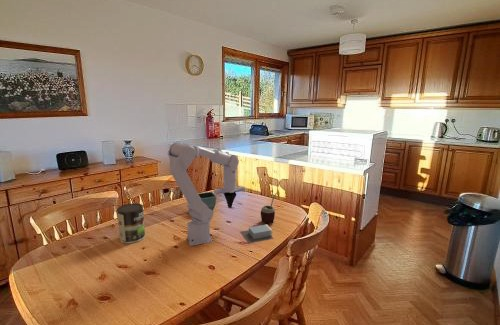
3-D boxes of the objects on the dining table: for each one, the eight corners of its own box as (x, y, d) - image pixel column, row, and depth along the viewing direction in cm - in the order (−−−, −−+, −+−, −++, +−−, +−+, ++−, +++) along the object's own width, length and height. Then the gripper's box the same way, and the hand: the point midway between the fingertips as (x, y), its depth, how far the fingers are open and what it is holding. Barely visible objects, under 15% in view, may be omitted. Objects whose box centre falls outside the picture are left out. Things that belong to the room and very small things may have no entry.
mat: (248, 244, 110) (248, 243, 110) (239, 232, 120) (239, 231, 120) (273, 239, 114) (273, 238, 114) (263, 228, 124) (263, 227, 124)
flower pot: (197, 208, 146) (196, 193, 144) (212, 206, 150) (211, 191, 148) (201, 214, 139) (200, 198, 137) (216, 211, 142) (216, 196, 140)
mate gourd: (259, 224, 128) (259, 196, 125) (262, 218, 136) (263, 190, 132) (274, 226, 126) (275, 197, 123) (276, 219, 134) (277, 192, 131)
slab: (253, 233, 113) (272, 230, 116) (248, 227, 118) (266, 224, 121) (253, 239, 113) (272, 235, 117) (248, 232, 119) (266, 229, 122)
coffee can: (150, 233, 118) (148, 204, 115) (136, 244, 108) (133, 213, 105) (130, 230, 120) (127, 202, 117) (114, 241, 110) (111, 211, 107)
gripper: (216, 183, 113) (216, 212, 116) (247, 180, 118) (246, 208, 121) (212, 179, 120) (213, 206, 123) (242, 176, 125) (241, 203, 128)
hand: (229, 207), depth 122 cm, fingers closed
